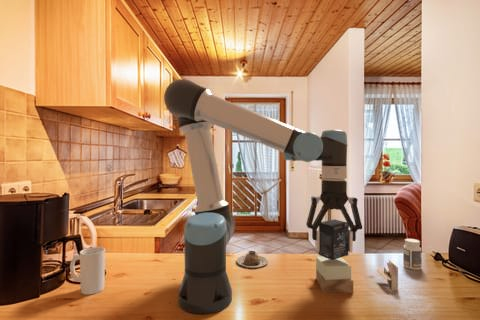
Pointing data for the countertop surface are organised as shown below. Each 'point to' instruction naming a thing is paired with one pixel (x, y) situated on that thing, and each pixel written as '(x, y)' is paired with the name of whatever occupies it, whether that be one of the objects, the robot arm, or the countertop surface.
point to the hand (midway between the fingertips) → (333, 250)
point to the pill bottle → (412, 254)
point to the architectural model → (391, 275)
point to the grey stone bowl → (252, 260)
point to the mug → (90, 269)
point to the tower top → (333, 268)
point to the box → (333, 239)
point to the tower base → (335, 284)
